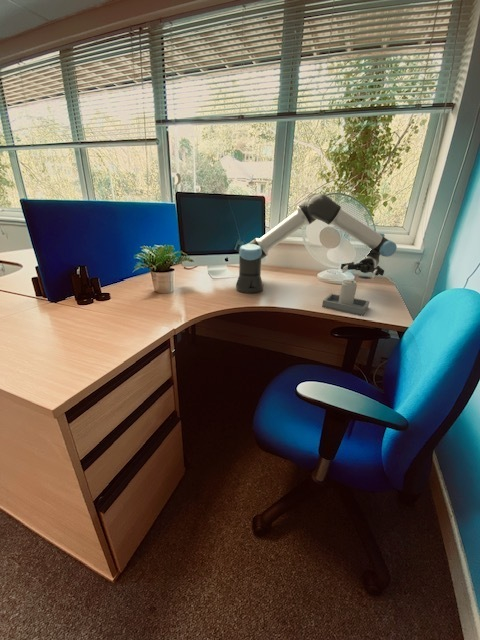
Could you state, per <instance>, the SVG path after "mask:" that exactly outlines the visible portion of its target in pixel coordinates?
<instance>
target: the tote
mask: <svg viewBox="0 0 480 640" xmlns="http://www.w3.org/2000/svg"><path fill="white" fill-rule="evenodd" d="M339 297H340V294H335V293H330V294H329V295H328V296H326V297H325V298H324V299H323V300H322V304H321V307H323V308H325V307H326V308H325V309H330V308H331V310H334V309H335V311H339V312H344V313H347V312H348V314H353V315H356V314H357V316H361V315H362V316H361V317H363V316H364V315H365V313H366V312H367V310H368V309H369V305H370V300H365V299H361V298H357V297H356V298H355V297H354V302H353V306H351V305H346V304H341V303H338V302H339Z"/></svg>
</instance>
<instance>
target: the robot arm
mask: <svg viewBox="0 0 480 640" xmlns="http://www.w3.org/2000/svg"><path fill="white" fill-rule="evenodd" d="M316 220H318V221H321V222H323V223H325V224H327V225H328V226H329V225H333V226H334V227H335V228H337V229H339V230H340V231H342V232H344V233H345V234H347V235H348V236H350V237H352V238H353V239H355V240H357V242H360V243H361V244H363V245H365V246H366V247H367V246H368V247H369V248H371V249H372V250H371V251H370V253H369V254H368V255H367V257H365V256H364V257H365V258H364V257H363V259H361V260H360V261H359V262H356V263H355V262H354V261H352V262H349V263H347V262H344V263H341V265H340V269H341V270H342V271H341V272H342V274H345V273H346V272H347V271H349V270H351V271H352V270H354V271H359V272H361V273H363V274H368V273H372V275H371V278H372V279H374V278H375V277H376V276H384V273H385V270H384V269H383V268H381V266H380V265H379V263H380V256H382V257H391V256H393V255H394V254H395V253H396V251H397V249H398V247H397V243H395V242H394V241H392V240H389V239H388V238H387V237H385V233H382V232H377V231H375V230H374V229H372V228H371V227H369V226H367V225H366V224H364V223H363V222H361V221H360V220H359V219H356V218H355V217H353V216H352V215H351V214H349V213H348V212H346V211H344V210H343V209H342V206H341V205H340V204H338V203H336V202H335V201H334V200H333V199H331V197H329V196H328V195H326V194H323V193H314V194H311V195H309V196H306V198H305V200H304V201H302V202H301V203H300V204H299V205H297V206H296V210H294V212H293V213H291V214H290V215H289V216H287V217H286V218H285V219H284V220H282V221H281V222H279V223H278V224H277V225H276V226H275V227H272V228H271V229H270V230H268V231H267V232H266V233H265V234H264V235H262V236H261V237H260V238H259V237H255V238H254V239H253V240H251V241H250V242H248V243H246V244H242V245H241V246H240V247H239V251H238V253H239V255H238V256H239V263H238V264H239V265H238V266H239V267H238V269H239V270H238V272H239V273H238V274H239V275H238V278H237V279H236V280H237V281H236V283H235V284H236V285H235V290H236V289H237V290H236V291H237V292H240V293H244V294H245V293H246V294H256V293H261V292H262V291H263V290H264V282H263V280H262V276H261V271H262V260H263V259H264V258H265V257H267V256H268V255H269V251H271V250H272V249H273V248H274V247H276V246H277V245H279V244H280V243H281V242H283V241H285V240H286V239H287V238H288V237H290V236H291V235H292V234H293V233H295V232H296V231H298V230H299V229H300V228H302V227H304V226H305V225H307V226H309V225H311V224H312V223H314V222H315V221H316Z"/></svg>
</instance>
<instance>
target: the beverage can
mask: <svg viewBox="0 0 480 640" xmlns="http://www.w3.org/2000/svg"><path fill="white" fill-rule="evenodd" d="M357 286H358V285H357V281H356V280H352V279H344V280H342V283H341V286H340V291H339V295H340V297H339V302H338V303H341V304H346V305H351V306H353V302H354V298H355V295H356V291H357Z"/></svg>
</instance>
